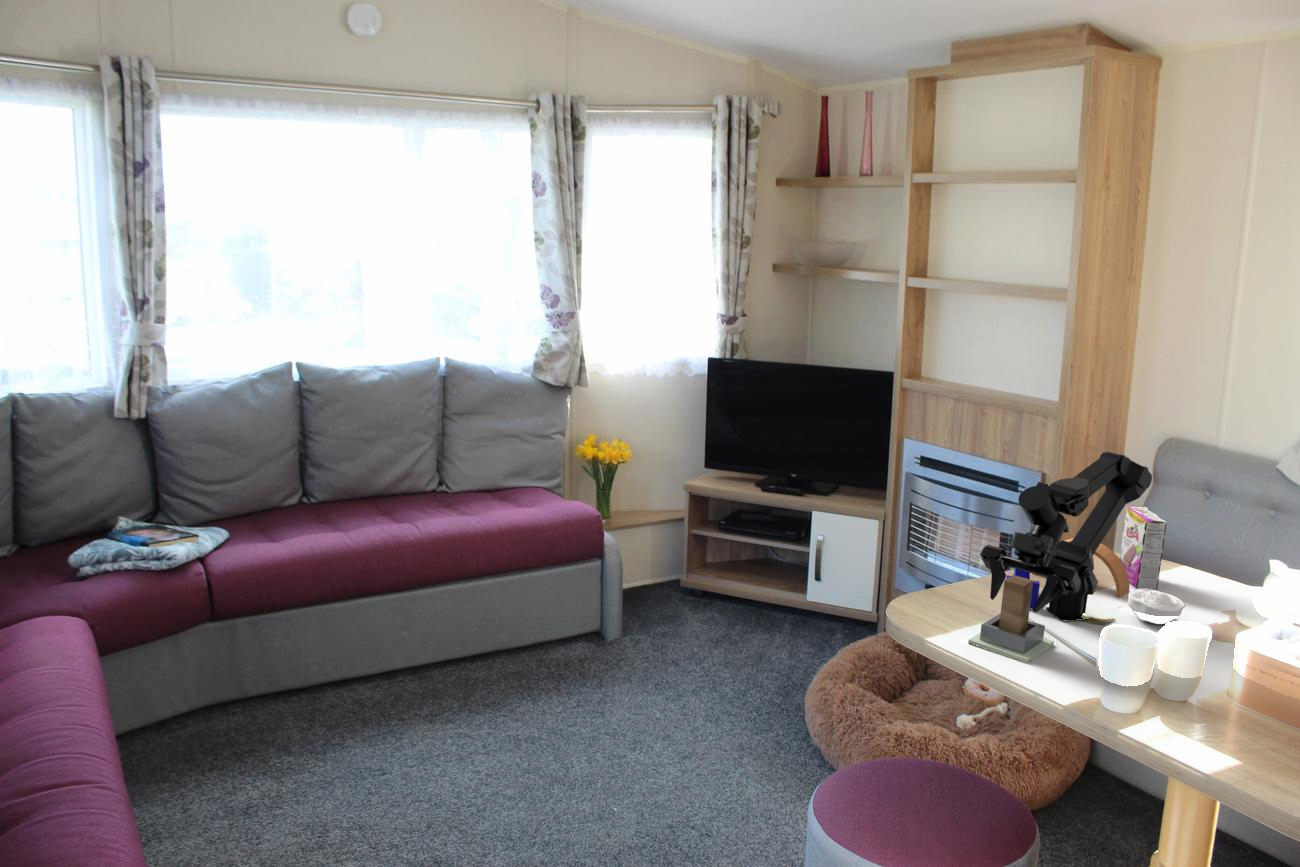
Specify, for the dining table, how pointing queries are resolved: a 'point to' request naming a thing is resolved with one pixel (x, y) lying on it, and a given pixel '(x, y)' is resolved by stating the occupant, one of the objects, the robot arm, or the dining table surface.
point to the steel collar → (1012, 636)
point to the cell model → (1155, 603)
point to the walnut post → (1016, 604)
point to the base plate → (1012, 654)
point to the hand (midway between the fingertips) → (1012, 605)
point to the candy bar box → (1142, 547)
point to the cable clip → (1034, 589)
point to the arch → (1113, 568)
